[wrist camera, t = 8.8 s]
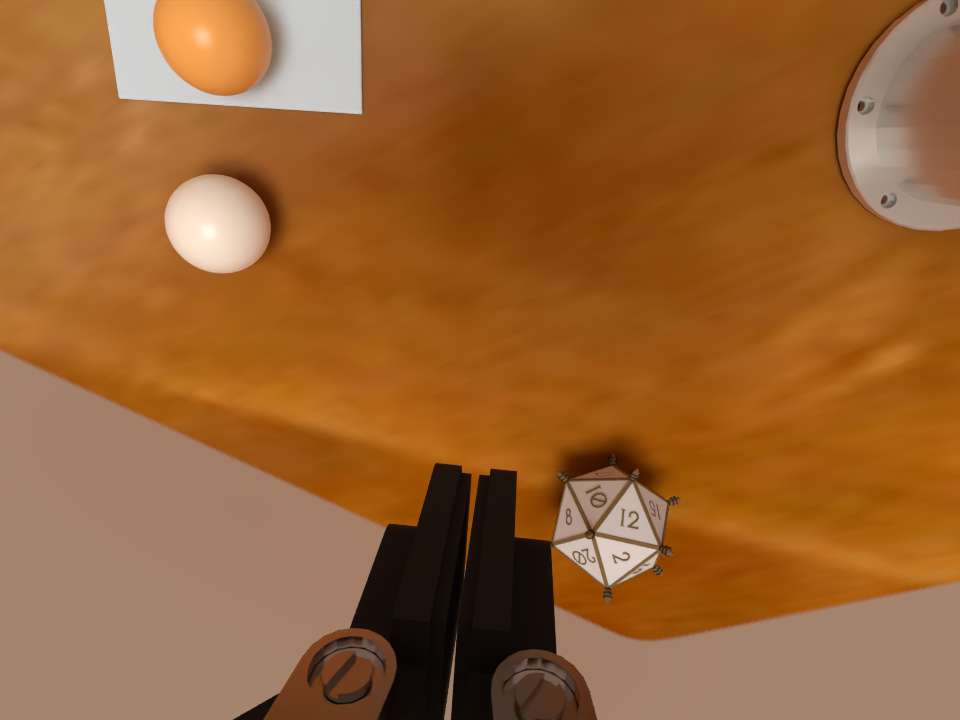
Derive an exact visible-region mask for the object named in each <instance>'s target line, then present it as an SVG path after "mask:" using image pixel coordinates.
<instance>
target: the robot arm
mask: <svg viewBox="0 0 960 720" xmlns="http://www.w3.org/2000/svg"><path fill="white" fill-rule="evenodd" d="M858 103H859V104H860V108H859V110H857V105H858ZM837 144H838V158H839V162H840V166H841V169H842V173H843V177H844V179H845V181H846V182H847V184H848V186H849V188H850V190H851V192H852V194H853V195H854V196H855V197H856V198H857V200H858V201H859V202H860V203H861V204H862V205H863V206H864V208H866V209H867V210H868V211H870V212H871V213H873V214H874V215H876V216H877V217H878V218H880V219H882V220H885V221H887V222H890V223H892V224H895V225H897V226H901V227H907V228H911V229H915V230H927V231H944V230H952V229H960V0H923V1H922V2H920V3H918V4H916V5H915V6H913V7H912V8H911V9H910V10H908V11H907V12H906V13H905V14H903V15H902V16H901V17H899V18H898V19H897V20H896V21H894V22H893V23H892V24H891V25H890V26H889V28H888V29H887V30H886V31H885V32H884V33H883V34H882V35H881V36H880V37H879V38H878V39H877V40H876V41H875V42H874V44H873V45H872V47H871V48H870V50H869V51H868V52H867V54H866V55H865V57H864V58H863V60H862V61H861V62H860V64H859V66H858V68H857V70H856V72H855V74H854V76H853V78H852V80H851V82H850V84H849V86H848V88H847V91H846V94H845V98H844V101H843V104H842V107H841V110H840V116H839V124H838V131H837ZM882 197H883V199H882ZM881 199H882V201H881ZM516 482H517V471H508V470H498V469H491V470H490V476H487V475H479V482H478V489H477V496H476V502H475V509H474V516H473V523H472V530H471V536H470V543H469V550H468V557H467V564H466V570H465V558H466V545H467V531H468V517H469V503H470V489H471V474H468V473H462V466H459V465H450V464H440V463H436V464H435V466H434V469H433V473H432V476H431V480H430V483H429V487H428V490H427V494H426V497H425V501H424V504H423V508H422V511H421V515H420V518H419V522H418V525H417V527H416V526H406V525H397V524H389V525H388V526H387V528H386V530H385V533H384V536H383V538H382V541H381V544H380V547H379V549H378V552H377V555H376V558H375V561H374V563H373V566H372V569H371V571H370V574H369V577H368V580H367V582H366V585H365V588H364V591H363V593H362V596H361V599H360V602H359V604H358V607H357V610H356V613H355V615H354V618H353V621H352V624H351V627H350V629H343V630H338V631H335V632H333V633H330V634H328V635H325V636H324V637H322V638H321V639H319V640H318V641H317V642H315V643H314V644H313V645H312V646H311V647H310V648H309V649H308V650H307V651H306V653H305V654H304V655H303V656H302V658H301V659H300V661H299V663H298V664H297V666H296V668H295V669H294V671H293V672H292V674H291V676H290V677H289V679H288V680H287V682H286V684H285V685H284V687H283V689H282V690H281V692H280V693H279V694H277V695H275V696H273V697H272V698H270V699H268V700H266V701H265V702H263V703H261V704H259V705H258V706H256V707H254V708H253V709H251V710H249V711H247V712H246V713H244V714H242V715H240V716H239V717H237V718H235V719H233V720H444V715H445V708H446V702H447V695H448V688H449V681H450V674H451V667H452V661H453V654H454V647H455V640H456V634H457V640H456V655H455V669H454V683H453V698H452V713H451V720H597V717H596V713H595V709H594V706H593V702H592V698H591V695H590V691H589V689H588V686H587V684H586V682H585V679H584V677H583V676H582V675H581V674H580V672H579V671H578V670H577V669H576V668H575V666H574V665H572V664H571V663H570V662H568V661H567V660H565V659H564V658H563V657H561V656H559V655H557V654H556V635H555V616H554V596H553V577H552V557H551V543H550V541H545V540H535V539H526V538H517V537H514V535H515V509H516ZM464 572H465V577H464ZM457 627H458V629H457Z"/></svg>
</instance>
